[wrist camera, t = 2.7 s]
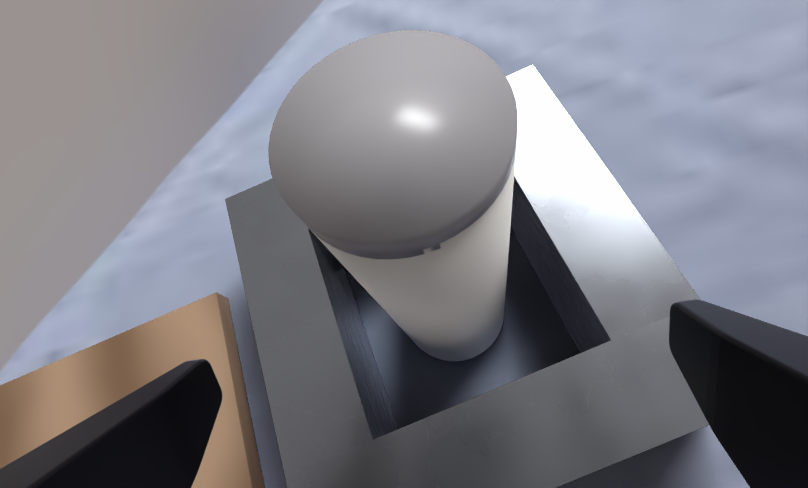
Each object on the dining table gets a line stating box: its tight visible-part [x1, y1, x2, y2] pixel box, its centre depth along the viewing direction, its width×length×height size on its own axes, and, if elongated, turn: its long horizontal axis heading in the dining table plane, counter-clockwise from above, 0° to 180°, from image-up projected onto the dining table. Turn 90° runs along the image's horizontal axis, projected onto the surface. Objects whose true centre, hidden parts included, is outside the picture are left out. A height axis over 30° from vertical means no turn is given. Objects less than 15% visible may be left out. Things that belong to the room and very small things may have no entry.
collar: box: [225, 65, 709, 488], centre depth 17 cm, size 14×14×4 cm
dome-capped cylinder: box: [269, 30, 518, 361], centre depth 13 cm, size 4×4×13 cm
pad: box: [0, 293, 265, 488], centre depth 19 cm, size 12×12×1 cm
